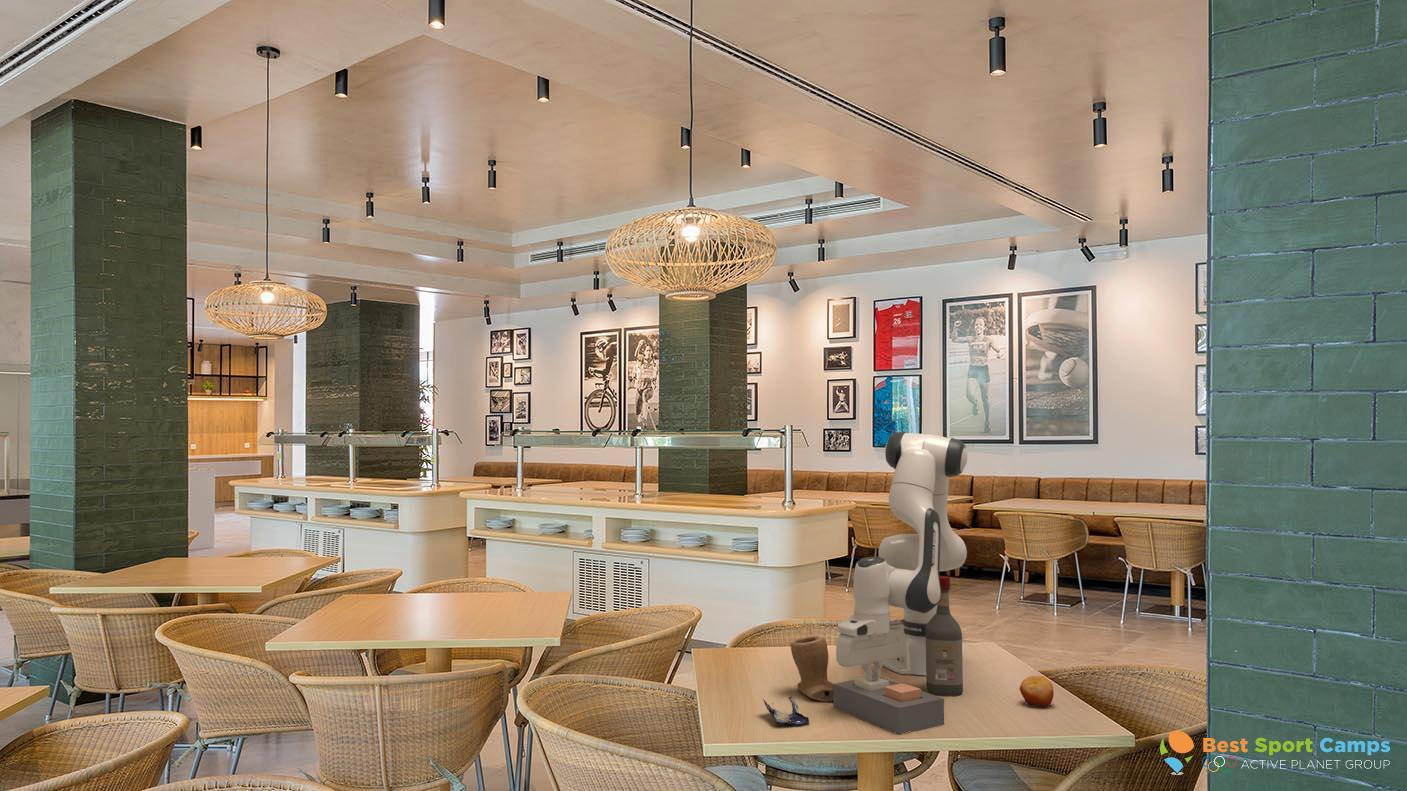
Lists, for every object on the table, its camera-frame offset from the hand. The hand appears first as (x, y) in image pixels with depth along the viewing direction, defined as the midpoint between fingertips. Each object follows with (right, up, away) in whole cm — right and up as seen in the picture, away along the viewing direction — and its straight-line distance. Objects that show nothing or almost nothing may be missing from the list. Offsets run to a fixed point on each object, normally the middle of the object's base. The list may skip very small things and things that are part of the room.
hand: (872, 679), depth 235 cm
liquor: (+22, -8, +16) cm, 28 cm away
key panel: (+3, -7, -5) cm, 9 cm away
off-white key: (0, -3, 0) cm, 3 cm away
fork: (+9, -8, +12) cm, 17 cm away
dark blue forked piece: (-22, -8, -8) cm, 25 cm away
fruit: (+42, -8, +4) cm, 43 cm away
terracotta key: (+5, -2, -9) cm, 11 cm away
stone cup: (-13, -8, +13) cm, 20 cm away
